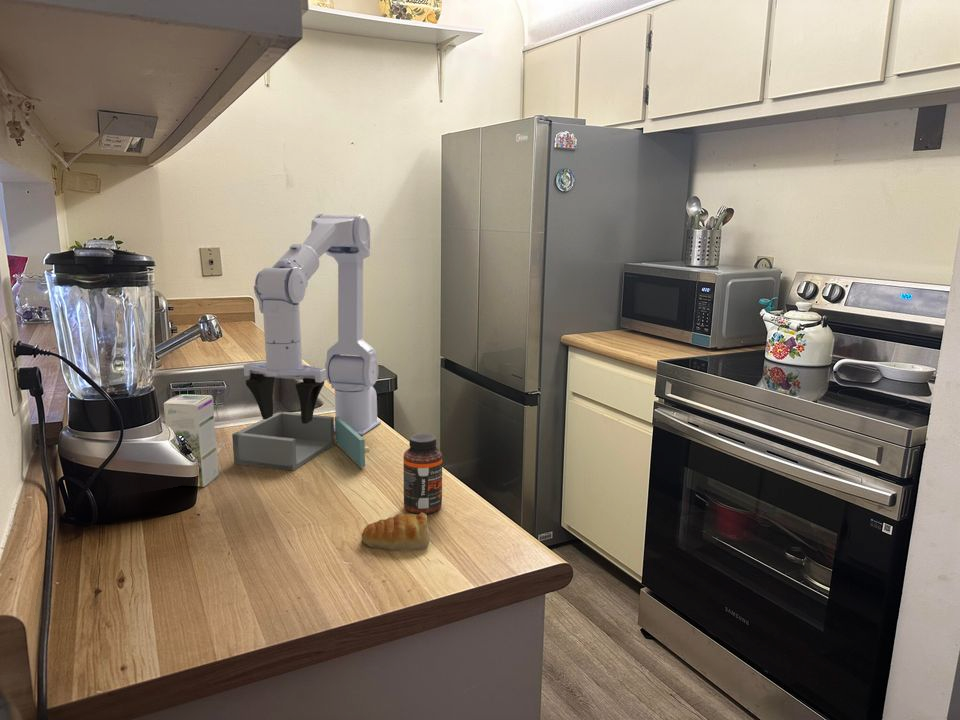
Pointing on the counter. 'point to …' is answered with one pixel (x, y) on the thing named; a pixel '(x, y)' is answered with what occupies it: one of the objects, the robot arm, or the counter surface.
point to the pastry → (398, 532)
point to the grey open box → (283, 441)
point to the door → (350, 442)
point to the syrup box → (195, 430)
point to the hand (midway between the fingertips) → (287, 419)
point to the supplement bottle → (422, 475)
